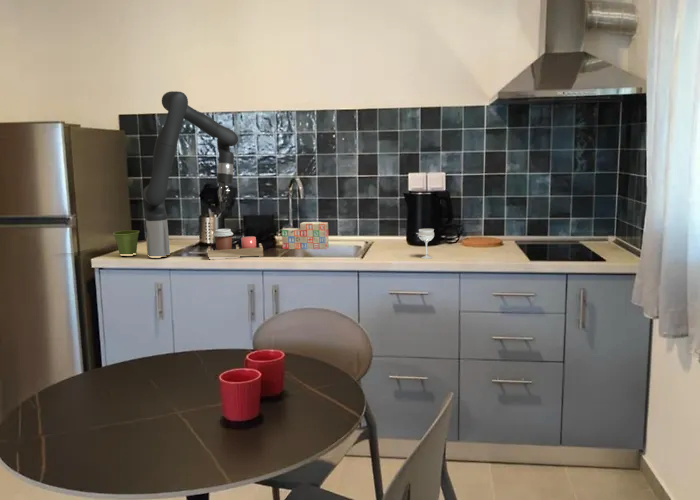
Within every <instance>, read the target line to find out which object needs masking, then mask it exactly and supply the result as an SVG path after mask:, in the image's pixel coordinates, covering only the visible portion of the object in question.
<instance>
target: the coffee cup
mask: <svg viewBox="0 0 700 500" xmlns="http://www.w3.org/2000/svg"><path fill="white" fill-rule="evenodd" d="M233 235H234V232H232V229H231V228H219V229H215V231H214V233H213V234H212V236H213V237H214V242H215V247H216V248H215V250H227V249H233V248H232V247H233V243H232V242H233Z"/></svg>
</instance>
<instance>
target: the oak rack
mask: <svg viewBox="0 0 700 500" xmlns="http://www.w3.org/2000/svg"><path fill="white" fill-rule="evenodd" d="M211 247H212V246H209V245H208V246H207V257H240V256H259V257H258V258H264V248H263V244H262V243H258V247H256V248H244V249H242V248H240V247H239V244H235V248H232V249H227V250H216V249H215V250H213V249H212V250H211Z"/></svg>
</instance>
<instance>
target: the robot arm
mask: <svg viewBox="0 0 700 500" xmlns="http://www.w3.org/2000/svg"><path fill="white" fill-rule="evenodd" d="M161 105H162V106H163V108H164V109H165V110H166V111H167V115H166V119H165V123H164V124H163V126H162V128H161V130H160V132H159V133H158V135H157V137H156V140H155V143H154V144H155V145H154V147H153V152H152V155H153V156H152V172H151V176H150V180H149V183H148V185H146V186H145V187H144V188H143V191H142V199H143V210H144V211H143V212H144V216H145V223H146V224H145V226H146V234H147V235H146V237H145V240H146V251H147V256H148V255H149V256H166V255H170V256H171V253H170V251H171V250H170V237H169V227H168V214H167V209H166V202H165V201H166V198H167V194H168V183H169V178H170V175H171V174H170V173H171V171H172V167H173V164H174V160H175V156H176V151H177V147H178V143H179V138H180V133H181V128H182V124H183V122H184V120H186V121H188V122H189V123H191V124H192V125H194V126H195V127H196V128H198V129H199V130H201V131H202V132H203V133H205V134H206V135H207V136H210V137H212V138H216V139H217V140H216V142H217V143H216V145H217V151H218V161H217V162H218V164H217V171H216V183H218V184H219V187H218V190H217V192H216V193H217V197H218V201H219V210H221V211H225V210H226V203H227V202H228V200H229V197H230V194H231V189H230V185H232V184H233V179H234V161H235V160H234V158H235V156H234V152H232V151H231V148H230V147H234V146H236V145H237V144H238V143H239V137H238V134H237V133H236V132H235V131H233V130H232V129H230V128H228V127H226V126H224V125H221V124H220V123H218V122H217V121H215V119H212V118H211V117H210V116H208V115H206V114H205V113H203V112H200V111H198V110H196V109H195V108H194V107H191V105H189V101H188V97H187V95H186V94H185V93H184V92H182V91H177V90H175V91H173V90H171V91H167V92H166V93H165V92H164V94H163V95H162V96H161Z"/></svg>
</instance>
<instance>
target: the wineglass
mask: <svg viewBox="0 0 700 500" xmlns="http://www.w3.org/2000/svg"><path fill="white" fill-rule="evenodd" d="M434 230H435V229H434V228H428V227H427V228H425V227H424V228H419V229H418V234H417V235H418V238H419V240H421V241H422V242H423V243H425V255H424V256H421V257H420V259H432V258H433V257H432V256H429V255H428V243H429V242H430V241H432V240H433V239H434V237H435V232H434Z"/></svg>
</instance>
